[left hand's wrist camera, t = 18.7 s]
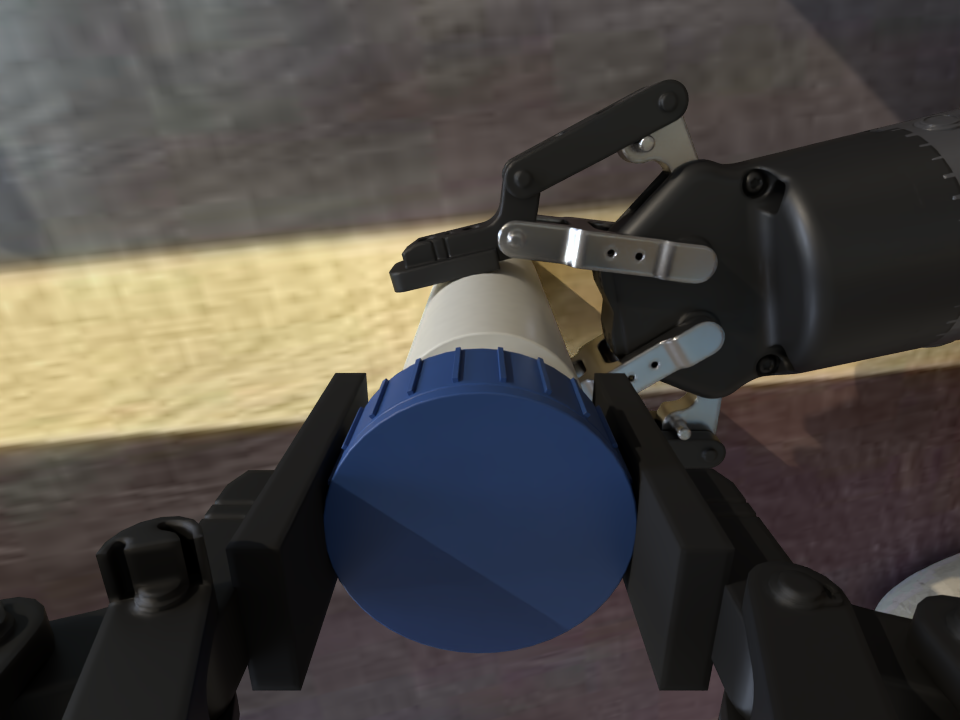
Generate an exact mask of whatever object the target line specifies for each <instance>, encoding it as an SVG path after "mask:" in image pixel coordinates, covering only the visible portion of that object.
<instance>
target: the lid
mask: <svg viewBox="0 0 960 720" xmlns="http://www.w3.org/2000/svg"><path fill="white" fill-rule="evenodd" d="M632 483H633V480H632V477H631V475H630V473H629V470H628V468H627V466H626V464H625V462H624V459H623V457H622V455H621V453H620V451H619V448H618V445H617V442H616V440H615V438H614V436H613V434H612V431H611V429H610V427H609V425H608V423H607V420H606V418H605V416H604V414H603V412H602V409H601V408H600V406H599V405H598V406H596V407H595V406H594V404H593V402H592V401H591V400H590V399H589V397H588V396H587V395H586V394H585V393H584V392H583V390H582V389H581V388H580V387H579V385H578V382H577V380H576V379H575V378H574V377H573V378H572V379H570V378H568V377H567V376H566V375H564V374H563V373H561V372H560V371H558V370H557V369H555V368H554V367H552V366H549V365H547V364H545V363H544V361H543V359H542V358H540V357H538V359H534V358H531V357H528V356H526V355H523V354H520V353H515V352H510V351H505V350H503V347H498V349H485V348H479V349H462V350H461V347H457V348H456V349H455V351H451V352H445V353H442V354H438V355H435V356H432V357H429V358H426V359H424V360H421V358H419V359H416V361H415V364H413V365H411V366H409V367H408V368H406V369H404V370H403V371H401V372H399V373H398V374H396V375H395V376H394V377H393V378H391V379H390V380H389V381H388V380H387V379H385V380H384V381H383V382H382V384H381V386H380V389H379V390H378V391H377V392H376V393H375V395H374V396H373V397H372V398H371V399H370V401H369V402H368V404H367V405H366V406H365V408H363V407H360V409H359V410H358V412H357V415H356V417H355V419H354V421H353V423H352V426H351V428H350V430H349V432H348V434H347V437H346V439H345V441H344V443H343V445H342V450H341V453H340V455H339V457H338V459H337V462H336V464H335V466H334V468H333V470H332V473H331V475H330V477H329V479H328V485H329V488H328V492H327V495H326V499H325V506H324V513H323V520H324V531H325V539H326V547H327V552H328V555H329V558H330V561H331V564H332V567H333V569H334V571H335V573H336V575H337V577H338V579H339V581H340V582H341V584H342V585H343V586H344V588H345V589H346V591H347V592H348V594H349V595H350V596H351V597H352V598H353V599H354V600H355V602H356V603H357V604H358V605H359V606H360V607H361V608H362V609H363V610H364V611H365V612H367V613H368V614H369V615H370V616H371V617H373V618H374V619H375V620H376V621H378V622H379V623H381V624H382V625H384V626H385V627H387V628H388V629H390V630H392V631H394V632H396V633H398V634H400V635H402V636H404V637H406V638H408V639H411V640H413V641H416V642H419V643H421V644H424V645H428V646H432V647H435V648H439V649H444V650H450V651H456V652H467V653H496V652H504V651H511V650H517V649H521V648H525V647H529V646H533V645H536V644H539V643H542V642H545V641H548V640H550V639H552V638H555V637H557V636H559V635H561V634H563V633H565V632H567V631H569V630H570V629H572V628H573V627H575V626H577V625H578V624H580V623H582V622H583V621H584V620H585V619H587V618H588V617H589V616H590V615H592V614H593V613H594V612H595V611H597V609H598V608H599V607H600V606H601V605H602V604H603V603H604V602H605V601H606V600H607V599H608V598H609V597H610V595H611V594H612V593H613V592H614V590H615V589H616V588H617V586H618V585H619V583H620V581H621V579H622V578H623V576H624V574H625V572H626V571H627V568H628V566H629V563H630V560H631V558H632V555H633V550H634V542H635V534H636V525H637V507H636V500H635V497H634V493H633V489H632V485H631V484H632Z"/></svg>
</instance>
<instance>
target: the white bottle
mask: <svg viewBox="0 0 960 720" xmlns="http://www.w3.org/2000/svg"><path fill="white" fill-rule="evenodd" d="M499 263H500V269H499V270H495V271H490V272H486V273H482V274H477V275H471V276H468V277H464V278H461V279H457V280H452V281H448V282H444V283H440V284H435V285H433V288H432V290H431V293H430V296H429V299H428V302H427V304H426V307H425V310H424V313H423V315H422V318H421V321H420V324H419V327H418V329H417V332H416V335H415V338H414V340H413V343H412V346H411V349H410V352H409V354H408V357H407V360H406V363H405V365H404V368H403V370H404V369H406V368H408V367H409V366H411V365H413V364H415V361H416V359H419V358H421V360H424V359H426V358H429V357H432V356H435V355H438V354H442V353H445V352H451V351H455V349H456V348H457V347H461V350H462V349H479V348H485V349H498V347H503V350H505V351H510V352H515V353H520V354H523V355H526V356H528V357H531V358H534V359H538V357H540V358H542V359H543V361H544V363H545V364H547V365H549V366H552V367H554V368H555V369H557V370H558V371H560V372H561V373H563V374H564V375H566V376H567V377H568V378H570V379H572V378H573V377H574V378H575V379H576V380H577V382H578V385H579V387H580V388H581V389H582V387H581V384H580V382H579V379H578V377H577V374H576V372H575V369H574V366H573V364H572V361H571V359H570V356H569V353H568V351H567V348H566V346H565V343H564V341H563V338H562V335H561V333H560V330H559V328H558V325H557V323H556V320H555V317H554V315H553V312H552V310H551V307H550V305H549V302H548V299H547V297H546V294H545V292H544V289H543V286H542V284H541V281H540V279H539V276H538V274H537V271H536V269H535V266H534V264H533V263H532V261H531V260H526V259H517V258H511V259H507V260H503V261H499Z"/></svg>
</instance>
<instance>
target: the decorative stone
mask: <svg viewBox="0 0 960 720" xmlns="http://www.w3.org/2000/svg"><path fill="white" fill-rule="evenodd" d="M936 595H948V596H954V597H960V553H958V554H956V555H953V556H951V557H948V558H946V559H943V560H941V561H939V562H936V563H934V564H932V565H930V566H928V567H926V568H924V569H922V570H920V571H918V572H916V573H914V574H913V575H911V576H909V577H908V578H906V579H905V580H904V581H902V582H901V583H899V584H898V585H897V586H895V587H894V588H893V589H891V590H890V591H889V592H888V593H887V594H886V595H885V596H884V597H883V598H882V599H881V601H880V602H879V604H878V605H877V607H876V609H875V611H879V612H883V613H888V614H892V615H897V616H901V617H905V618H910V619H912V618H913V615H914V613H915V610H916V607H917V604H918V603H919V602H920V601H922V600H923V599H924V598H925V597H928V596H936Z"/></svg>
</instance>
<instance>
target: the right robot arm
mask: <svg viewBox="0 0 960 720" xmlns="http://www.w3.org/2000/svg"><path fill="white" fill-rule="evenodd" d="M688 101H689V98H688V92H687V90H686V88H685V87H684V85H683V84H681V83H680V82H678V81H676V80H665V81H662V82H658V83H655V84H652V85H649V86H647V87H644V88H641V89H639V90H637V91H635V92H634V93H632V94H630V95H628V96H626V97H624V98H623V99H621V100H619V101H617V102H615V103H613V104H611V105H610V106H608V107H606V108H604V109H602V110H600V111H598V112H597V113H595V114H593V115H591V116H589V117H587V118H585V119H584V120H582V121H580V122H578V123H576V124H574V125H573V126H571V127H569V128H567V129H565V130H563V131H561V132H560V133H558V134H556V135H554V136H552V137H550V138H548V139H547V140H545V141H543V142H541V143H539V144H537V145H536V146H534V147H532V148H530V149H528V150H526V151H524V152H523V153H521V154H519V155H517V156H515V157H513V158H511V159H510V160H509V161H508V162H507V163H506V164H505V166H504V168H503V171H502V178H503V182H502V190H501V198H500V205H499V208H498V210H497V212H496V214H495V215H494V216H493V217H492V218H491V219H489V220H487V221H485V222H482V223H478V224H474V225H470V226H466V227H462V228H458V229H454V230H450V231H446V232H441V233H437V234H433V235H429V236H425V237H421V238H418V239H417V240H416V241H414V242H413V243H412V244H410V245H409V246H407V248H406V249H405V250H404V252H403V253H402V257H403V260H404V261H401V262H398V263H396V264H395V265H394V266H393V268H392V269H391V270H390V272H389V273H390V277H391V280H392V283H393V287H394V290H395V292H406V291H410V290H414V289H418V288H423V287H427V286H431V285H435V284H440V283H444V282H448V281H452V280H457V279H461V278H464V277H468V276H471V275H477V274H482V273H486V272H490V271H495V270H499V269H500V263H499V261H503V260H507V259H511V258H517V259H526V260H534V261H543V262H552V263H560V264H565V265H568V266H571V267H574V268H579V269H587V270H592V271H593V277H594V280H595V282H596V284H597V287H598V289H599V291H600V293H601V295H602V297H603V303H602V312H601V323H602V329H603V334H602V335H600V336H598V337H597V338H595V339H593V340H592V341H590V342H588V343H587V344H585V345H584V346H582V347H581V348H580V349H579V351H578V353H577V354H576V355H575V356H574V357H572V358H571V361H572V364H573V366H574V369H575V372H576V374H577V377H578V379H579V382H580V384H581V387H582V390H583V392H584V393H585V394H586V395H587V396H588V397H589V399H590V400H591V401H592V397H593V384H594V373H625V374H626V376H627V377H628V379H629V380H630V382H631V384H632V385H633V387H634V388H635V390H636V392H637V393H638V392H640V391H642V390H644V389H645V388H647V387H649V386H651V385H652V384H654V383H656V382H658V381H662V382H664V383H667V384H669V385H672V386H674V387H677V388H679V389H682V390H684V391H687V393H686V395H685V396H683V397H682V398H681V399H679V400H676V401H669V402H663V403H662V404H661V405H660V407H659V409H658V410H657V411H649V412H650V414H651V415H652V417H653V419H654V420H655V422H656V423H657V425H658V427H659V428H660V430H661V431H662V433H663V435H664V436H665V438H666V439H667V441H668V443H669V444H670V446H671V447H672V449H673V451H674V452H675V454H676V455H677V457H678V459H679V460H680V462H681V463H682V465H683V466H684V468H713V467H715V466H717V465H719V464H720V463H721V462H722V461H723V460H724V458H725V454H726V450H725V447H724V446H723V444H722V443H721V442H720V440H719V439H718V438H717V437H716V429H717V423H718V417H719V411H720V405H721V399H722V397H725V396H728V395H730V394H732V393H733V392H735V391H736V390H737V389H739V388H740V387H741V386H743V385H744V384H746V383H748V382H749V381H751V380H754V379H756V378H758V377H762V376H770V375H786V374H797V373H803V372H808V371H813V370H818V369H823V368H827V367H832V366H837V365H842V364H846V363H851V362H856V361H861V360H865V359H870V358H875V357H880V356H884V355H889V354H894V353H899V352H904V351H908V350H913V349H918V348H929V347H937V346H942V345H945V344H948V343H951V342H953V341H956V340H960V109H955V110H951V111H946V112H942V113H938V114H934V115H930V116H926V117H922V118H918V119H914V120H910V121H906V122H901V123H897V124H893V125H889V126H885V127H881V128H877V129H873V130H868V131H864V132H860V133H856V134H852V135H848V136H844V137H840V138H836V139H832V140H828V141H824V142H820V143H815V144H811V145H807V146H803V147H799V148H795V149H791V150H787V151H783V152H779V153H775V154H771V155H767V156H763V157H758V158H754V159H750V160H746V161H742V162H738V163H733V164H719V163H716V162H713V161H710V160H704V159H698V156H697V154H696V151H695V148H694V145H693V142H692V140H691V137H690V134H689V131H688V129H687V126H686V123H685V120H684V117H683V114H684V113H685V111H686V109H687V106H688ZM616 152H617V153H618V155H619V156H620V157H621V158H622V159H623V160H625V161H627V162H631V163H638V164H641V163H645V162H648V161H652V160H653V161H656V162H657V163H658V164H660V166H661V167H662V169H663V171H662V172H661V173H660V174H659V176H658V177H657V178H656V179H655V180H654V181H653V182H652V183H651V184H650V185H649V186H648V187H647V189H646V190H645V191H644V192H643V193H642V194H641V195H640V196H639V197H638V198H637V199H636V200H635V202H634V203H633V204H632V205H631V206H630V207H629V208H628V209H627V210H626V211H625V212H624V213H623V215H622V216H621V217H620V218H619V219H618V220H617V221H616V222H608V221H600V220H591V219H583V218H574V217H553V216H545V215H537V212H538V205H539V198H540V192H542V191H544V190H545V189H547V188H549V187H551V186H553V185H555V184H557V183H559V182H561V181H563V180H565V179H566V178H568V177H570V176H572V175H574V174H576V173H578V172H580V171H582V170H584V169H586V168H587V167H589V166H591V165H593V164H595V163H597V162H599V161H601V160H603V159H605V158H607V157H608V156H610V155H612V154H614V153H616Z"/></svg>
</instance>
